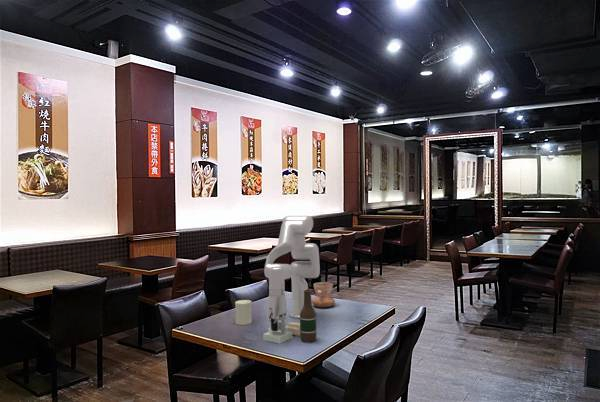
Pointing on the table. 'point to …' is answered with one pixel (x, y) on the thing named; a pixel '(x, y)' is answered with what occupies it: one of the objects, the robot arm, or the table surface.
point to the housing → (280, 324)
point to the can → (243, 312)
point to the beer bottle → (307, 319)
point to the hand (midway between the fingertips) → (277, 328)
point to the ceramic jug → (323, 295)
